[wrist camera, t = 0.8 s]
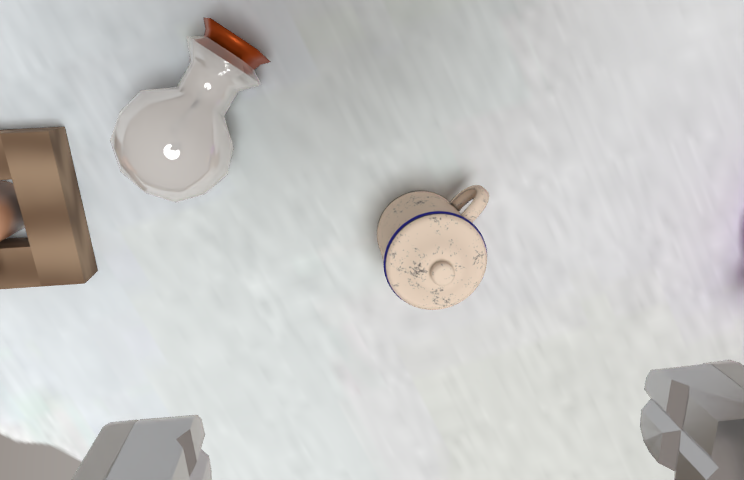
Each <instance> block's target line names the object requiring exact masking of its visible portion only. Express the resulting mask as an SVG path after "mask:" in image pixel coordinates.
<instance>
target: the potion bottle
mask: <svg viewBox="0 0 744 480" xmlns="http://www.w3.org/2000/svg"><path fill="white" fill-rule="evenodd" d="M203 18H204V17H203ZM204 23H205V28H206V30H205V35H204V36H191V37H186V38H187V44H188V50H189V55H190V61H191V62H190V64H189V66H188V68H187V69H186V71H185V73H184V75H183V76H182V78H181V80H180V82H179V84H178V85H177V87H169V88H159V89H149V90H141V91H140V92H139V93H138V94H137V95H136V96H135V97H134V98H133V99H132V100H131V101H130V102H129V103H128V104H127V105H126V106H125V107H124V108H123V109H122V110H121V111H120V112H119V115H118V118H117V121H116V124H115V127H114V130H113V133H112V136H111V139H110V142H111V145H112V148H113V151H114V154H115V157H116V160H117V163H118V166H119V169H120V172H121V173H122V174H124V175H125V176H126V177H127V178H128V179H130V180H131V181H132V182H133V183H135V184H136V185H137V186H138V187H139V188H141V189H142V190H143V191H144V192H146V193H147V194H150V195H153V196H156V197H160V198H163V199H166V200H169V201H173V202H179V201H183V200H186V199H190V198H193V197H197V196H200V195H204V194H206V193H207V192H208V191H209V190H210V189H212V188H213V187H214V186H215V185H216V184H217V183H219V182H220V181H221V180H222V179H223V178H224V177H225V176H227V175H228V170H229V166H230V162H231V158H232V154H233V150H234V146H233V143H232V139H231V136H230V133H229V130H228V126H227V123H226V120H225V117H224V116H225V114H226V112H227V110H228V109H229V107H230V105H231V103H232V102H233V100H234V98H235V97H236V95H237V93H238V92H240V91H243V90H246V89H250V88H253V87H257V86H260V85H261V83H260V81H259V79H258V77H257V75H256V73H255V69H256V68H257V67H258V66H259V65H261V64H265V63H269V62H270V61H269V60H268V59H267V58H266V57H265V56H264V55H263V54H262V53H260V52H259V51H258V50H257V49H256V48H255V47H253V46H252V45H250V44H249V43H247V42H246V41H244V40H243V39H241V38H240V37H238V36H237V35H235V34H234V33H232V32H231V31H229V30H227V29H226V28H224V27H223V26H221V25H220V24H218V23H217V22H215V21H214V20H212V19H211V18H204Z"/></svg>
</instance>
